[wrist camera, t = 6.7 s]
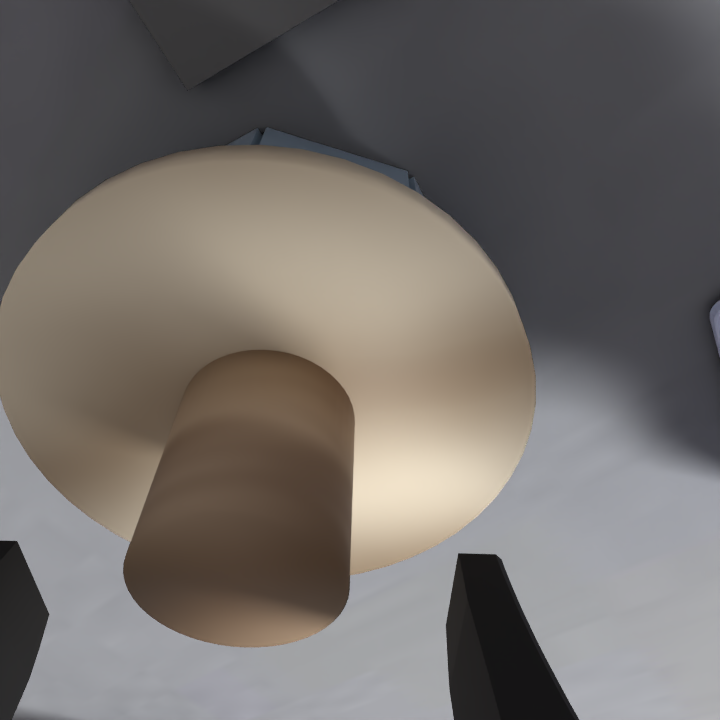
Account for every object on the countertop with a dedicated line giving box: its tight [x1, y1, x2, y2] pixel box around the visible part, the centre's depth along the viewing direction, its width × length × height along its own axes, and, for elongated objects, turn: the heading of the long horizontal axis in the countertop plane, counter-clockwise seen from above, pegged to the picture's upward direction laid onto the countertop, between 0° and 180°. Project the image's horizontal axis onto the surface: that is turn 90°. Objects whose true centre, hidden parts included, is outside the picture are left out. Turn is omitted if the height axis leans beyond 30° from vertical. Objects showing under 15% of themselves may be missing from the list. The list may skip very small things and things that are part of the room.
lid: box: [0, 145, 536, 647], centre depth 13 cm, size 11×11×5 cm
